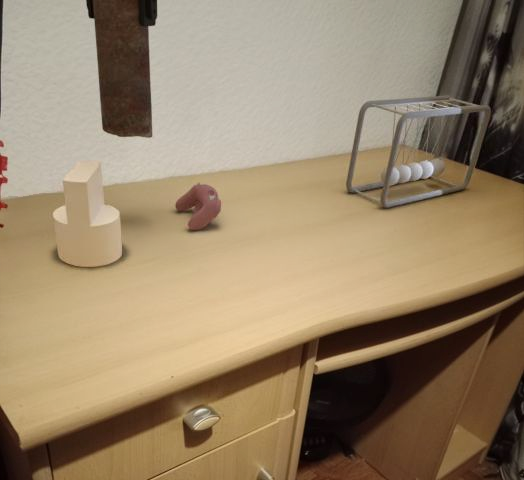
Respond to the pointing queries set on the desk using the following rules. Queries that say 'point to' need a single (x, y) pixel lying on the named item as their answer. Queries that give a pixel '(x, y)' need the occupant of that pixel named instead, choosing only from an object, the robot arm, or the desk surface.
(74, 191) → the base with upright slab
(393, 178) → the newton's cradle
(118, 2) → the rusty brown cylinder
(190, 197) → the video game controller
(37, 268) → the desk surface
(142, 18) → the robot arm
